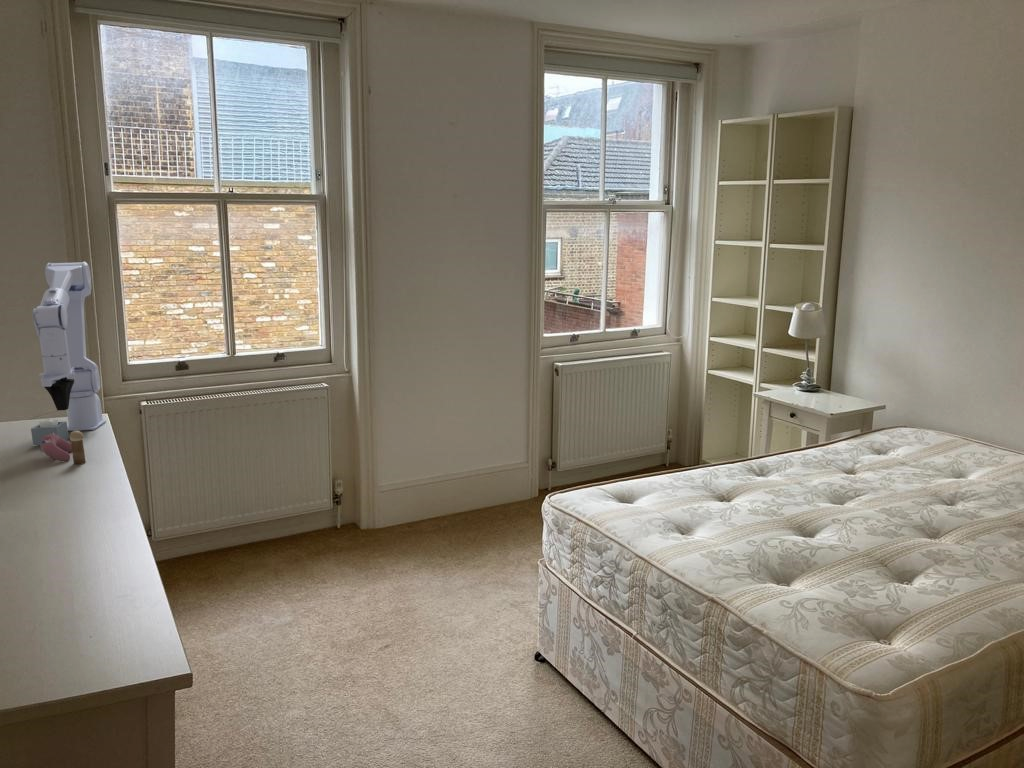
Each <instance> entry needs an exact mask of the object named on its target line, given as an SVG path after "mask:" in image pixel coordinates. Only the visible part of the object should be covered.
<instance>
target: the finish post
mask: <svg viewBox="0 0 1024 768" xmlns="http://www.w3.org/2000/svg"><path fill="white" fill-rule="evenodd" d="M68 437H69V441H70V443H71V446H72V452H71V453H72V459H73V461H72V462H73V465H82V463H83V464H85V463H86V461H87V460H86V455H85V447H84V434H83V433H82V431H81V430H77V431H71V432H70V433H69V435H68Z"/></svg>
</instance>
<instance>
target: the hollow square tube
mask: <svg viewBox="0 0 1024 768" xmlns="http://www.w3.org/2000/svg"><path fill="white" fill-rule="evenodd" d="M67 427H68V421H58V425H57V426H55V427H40V424H39V423H38V424H36V425H35V426H32V427H31V428H30V431H31V438H32V446H33V445H40V444H41V443H42V438H43V437H44V436H45V435H47V434H53V433H54V434H55V435H58V436H59V437H61V438H62V439H64V440H66V441H68V440H70V438H69V431H68V429H67Z"/></svg>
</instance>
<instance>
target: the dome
mask: <svg viewBox="0 0 1024 768" xmlns="http://www.w3.org/2000/svg"><path fill="white" fill-rule="evenodd" d="M58 422H59V421H58V419H50V418H48V419H46V420H45V419H44V420H42V421H39V423H38V424H40V427H55V426H57V425H58Z"/></svg>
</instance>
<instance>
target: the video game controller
mask: <svg viewBox="0 0 1024 768" xmlns="http://www.w3.org/2000/svg"><path fill="white" fill-rule="evenodd" d="M39 447H40V448H41V449H42V451H43V453H44V454H45V455H46V456H47V457H49V458H50V459H52V460H53V461H55V460H56V461H59V462H63V461H65V462H69V461H70V460H71V455H70V454H69V453H72V446H71V441H68V440H64V439H62V438H61V437H59V436H58V435H55V434H54V433H53V434H47V435H45V436H44V437H43V438H42V443H41V444H40V446H39Z"/></svg>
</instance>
